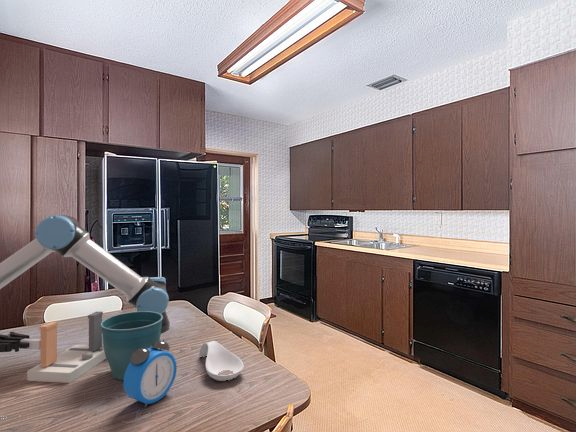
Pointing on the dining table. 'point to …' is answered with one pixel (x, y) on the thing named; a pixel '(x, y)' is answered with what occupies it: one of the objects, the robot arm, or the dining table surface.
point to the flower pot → (128, 337)
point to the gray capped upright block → (95, 331)
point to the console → (68, 365)
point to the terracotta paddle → (48, 344)
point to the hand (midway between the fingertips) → (41, 344)
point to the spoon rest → (220, 361)
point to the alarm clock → (150, 373)
